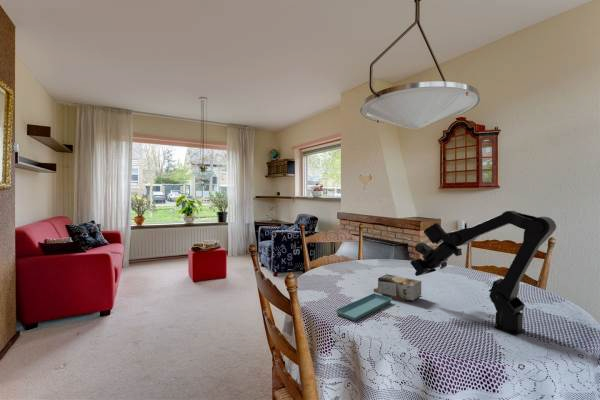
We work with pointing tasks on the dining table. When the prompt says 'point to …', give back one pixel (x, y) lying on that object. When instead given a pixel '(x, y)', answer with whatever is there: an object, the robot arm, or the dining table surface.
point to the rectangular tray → (363, 306)
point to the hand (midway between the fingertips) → (415, 275)
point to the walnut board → (391, 295)
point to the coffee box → (399, 286)
